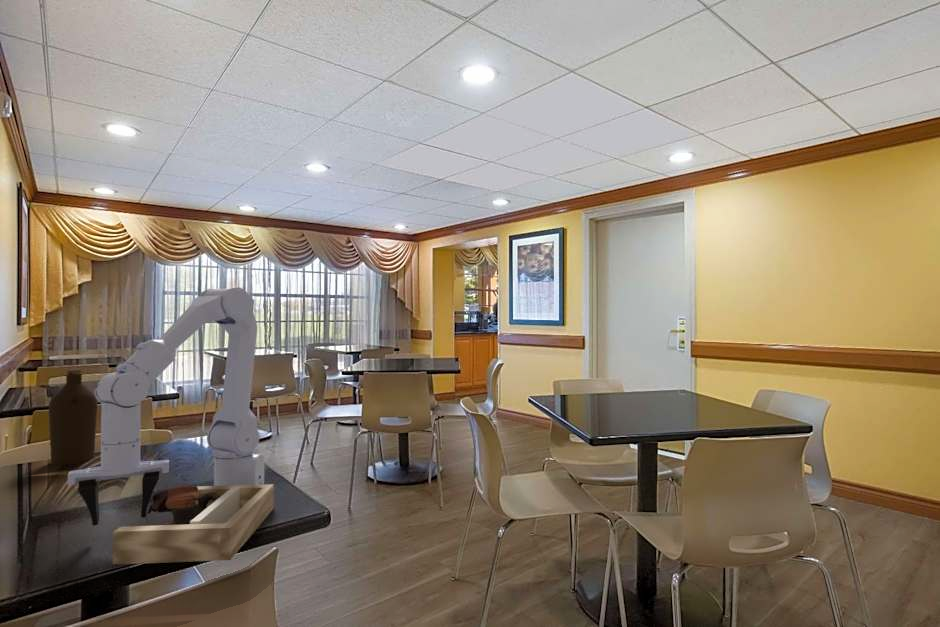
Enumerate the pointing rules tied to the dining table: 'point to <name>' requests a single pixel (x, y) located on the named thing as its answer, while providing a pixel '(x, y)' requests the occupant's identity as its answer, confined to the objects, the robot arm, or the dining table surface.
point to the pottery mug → (182, 503)
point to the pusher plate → (220, 509)
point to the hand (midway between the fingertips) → (120, 519)
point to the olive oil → (72, 422)
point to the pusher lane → (196, 532)
